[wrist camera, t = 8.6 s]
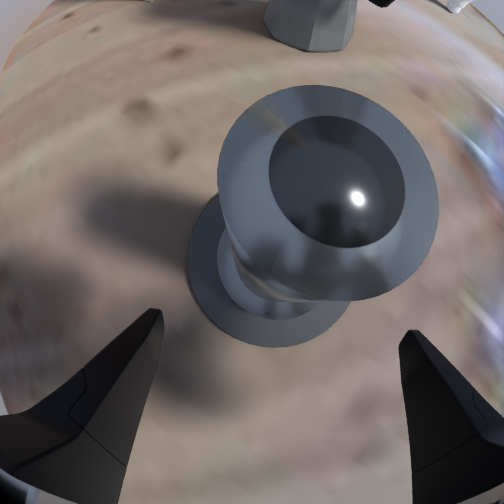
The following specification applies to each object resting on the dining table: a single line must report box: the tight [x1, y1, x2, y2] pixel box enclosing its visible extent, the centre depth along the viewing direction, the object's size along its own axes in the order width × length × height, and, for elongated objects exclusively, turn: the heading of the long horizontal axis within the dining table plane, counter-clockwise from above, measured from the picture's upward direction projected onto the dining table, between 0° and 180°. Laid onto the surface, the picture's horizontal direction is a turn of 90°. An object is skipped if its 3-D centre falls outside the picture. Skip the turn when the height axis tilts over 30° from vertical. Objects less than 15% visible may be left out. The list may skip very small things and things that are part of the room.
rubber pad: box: [188, 195, 351, 348], centre depth 18 cm, size 11×11×1 cm
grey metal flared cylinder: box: [217, 85, 439, 320], centre depth 12 cm, size 7×7×13 cm
